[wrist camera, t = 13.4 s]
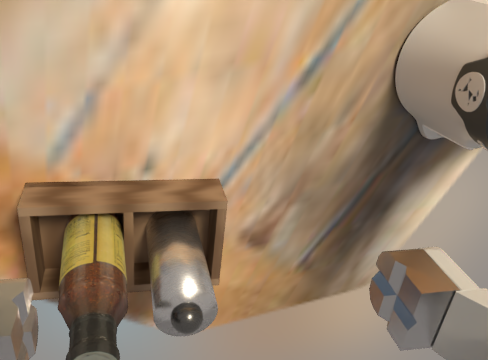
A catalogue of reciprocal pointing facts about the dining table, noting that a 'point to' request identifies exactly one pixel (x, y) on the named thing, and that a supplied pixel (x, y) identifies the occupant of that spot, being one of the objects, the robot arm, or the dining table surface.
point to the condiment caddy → (129, 214)
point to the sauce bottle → (93, 285)
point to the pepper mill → (179, 274)
